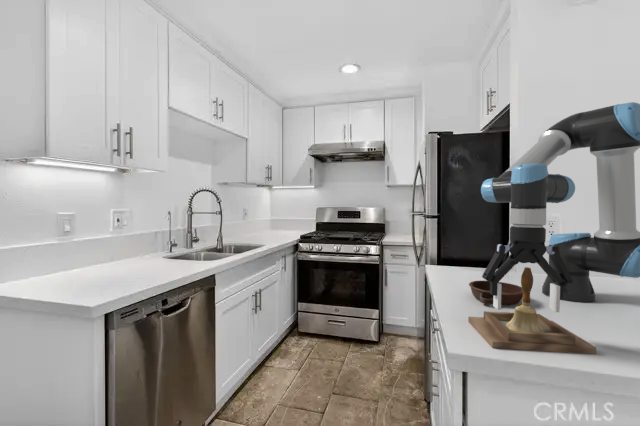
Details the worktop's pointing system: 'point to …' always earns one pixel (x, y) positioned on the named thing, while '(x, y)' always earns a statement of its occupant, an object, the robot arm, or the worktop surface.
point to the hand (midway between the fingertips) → (525, 309)
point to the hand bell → (525, 308)
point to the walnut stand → (528, 335)
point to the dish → (508, 292)
